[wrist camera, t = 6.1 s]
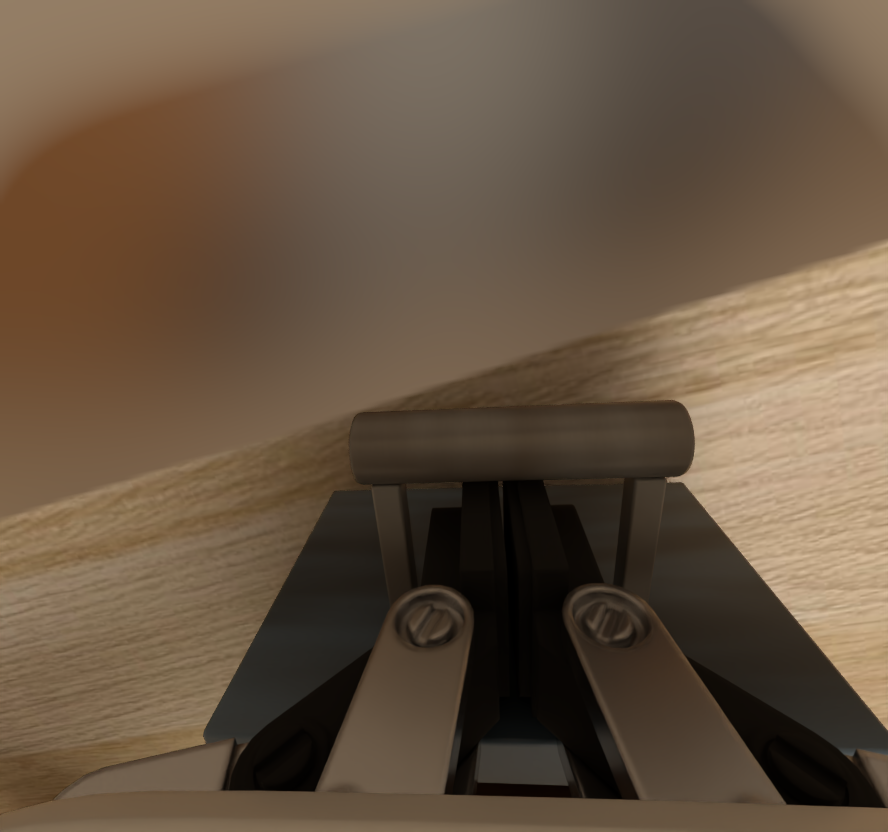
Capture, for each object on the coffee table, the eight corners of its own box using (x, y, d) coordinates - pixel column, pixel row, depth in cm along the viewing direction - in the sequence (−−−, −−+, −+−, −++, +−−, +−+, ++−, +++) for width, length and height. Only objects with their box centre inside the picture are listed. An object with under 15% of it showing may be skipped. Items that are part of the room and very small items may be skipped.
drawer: (306, 354, 13) (96, 510, 6) (707, 334, 12) (1061, 489, 5) (382, 739, 20) (331, 1023, 13) (638, 746, 19) (738, 1058, 12)
